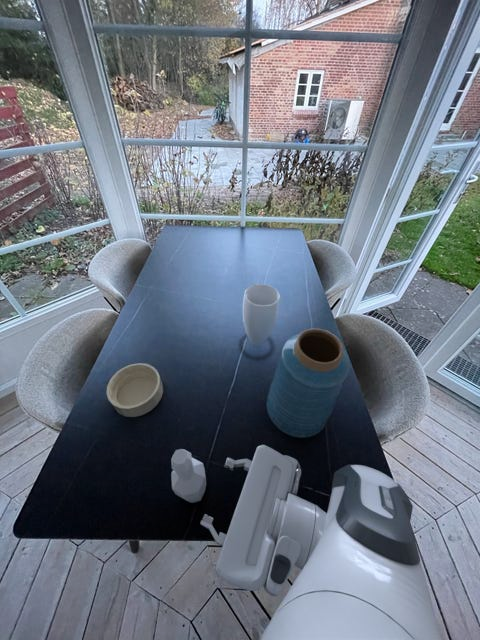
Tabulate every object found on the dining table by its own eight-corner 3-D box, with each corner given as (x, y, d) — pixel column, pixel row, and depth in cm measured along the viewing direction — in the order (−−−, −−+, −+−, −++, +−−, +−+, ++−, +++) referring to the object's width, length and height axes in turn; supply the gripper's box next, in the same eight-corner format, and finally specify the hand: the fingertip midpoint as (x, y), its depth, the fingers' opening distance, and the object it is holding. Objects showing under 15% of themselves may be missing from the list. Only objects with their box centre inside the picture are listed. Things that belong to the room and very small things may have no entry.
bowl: (144, 426, 67) (138, 416, 63) (102, 407, 70) (94, 396, 66) (172, 383, 75) (169, 372, 71) (134, 368, 79) (129, 357, 75)
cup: (240, 358, 82) (242, 307, 66) (240, 333, 89) (242, 282, 74) (274, 358, 82) (284, 307, 67) (271, 333, 89) (279, 282, 74)
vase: (338, 433, 66) (380, 374, 47) (275, 445, 64) (293, 388, 45) (313, 377, 78) (340, 312, 58) (259, 386, 75) (268, 320, 56)
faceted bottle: (211, 475, 59) (203, 438, 43) (206, 509, 55) (195, 481, 39) (183, 472, 60) (165, 434, 44) (175, 506, 55) (153, 477, 39)
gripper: (307, 457, 48) (237, 427, 52) (274, 611, 35) (183, 557, 38) (300, 467, 53) (237, 440, 56) (269, 607, 39) (188, 560, 43)
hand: (214, 488), depth 47 cm, fingers open, 8 cm apart
